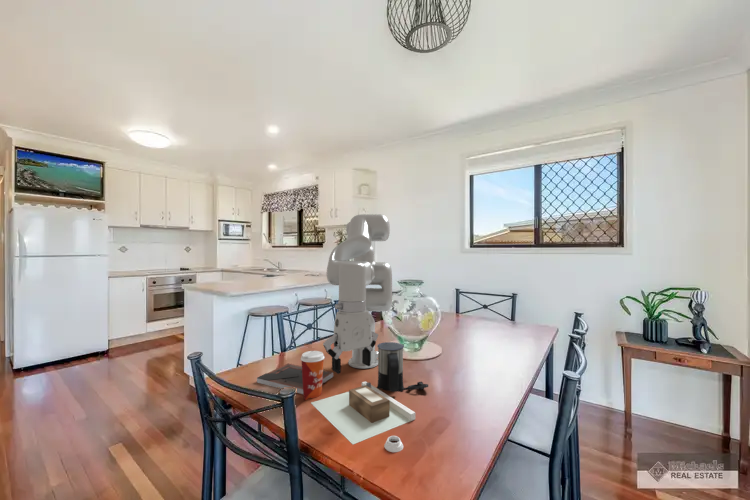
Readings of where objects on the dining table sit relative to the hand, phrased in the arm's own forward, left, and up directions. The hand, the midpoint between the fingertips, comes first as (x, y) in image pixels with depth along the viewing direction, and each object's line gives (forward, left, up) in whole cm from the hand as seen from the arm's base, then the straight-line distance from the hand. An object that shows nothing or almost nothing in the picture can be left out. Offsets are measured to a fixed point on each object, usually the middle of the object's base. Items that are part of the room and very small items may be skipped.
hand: (351, 368), depth 88 cm
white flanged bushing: (-2, +17, -15) cm, 23 cm away
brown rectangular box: (-6, 0, -14) cm, 15 cm away
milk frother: (-25, -8, -15) cm, 30 cm away
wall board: (-4, -2, -15) cm, 15 cm away
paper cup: (+3, -20, -15) cm, 25 cm away
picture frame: (+2, -36, -16) cm, 39 cm away
